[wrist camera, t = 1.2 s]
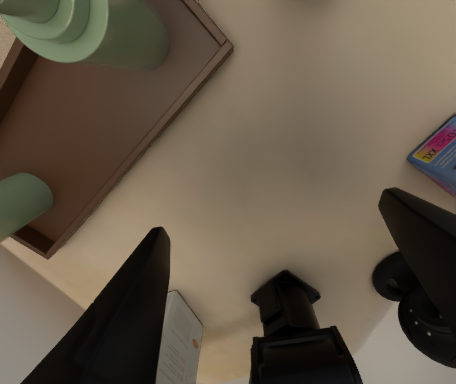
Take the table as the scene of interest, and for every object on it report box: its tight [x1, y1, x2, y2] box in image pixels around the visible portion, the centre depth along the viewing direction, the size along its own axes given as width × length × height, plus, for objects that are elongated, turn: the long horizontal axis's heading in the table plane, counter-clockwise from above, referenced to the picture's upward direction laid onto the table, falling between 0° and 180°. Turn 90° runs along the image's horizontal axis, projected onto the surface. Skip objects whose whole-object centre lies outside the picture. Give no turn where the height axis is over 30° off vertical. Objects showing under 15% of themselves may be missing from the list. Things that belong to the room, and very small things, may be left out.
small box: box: [156, 291, 203, 384], centre depth 26 cm, size 8×6×13 cm
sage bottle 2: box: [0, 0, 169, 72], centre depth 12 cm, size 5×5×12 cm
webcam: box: [373, 252, 456, 368], centre depth 23 cm, size 8×8×10 cm
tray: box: [0, 0, 233, 260], centre depth 20 cm, size 11×28×2 cm, turn 135°
